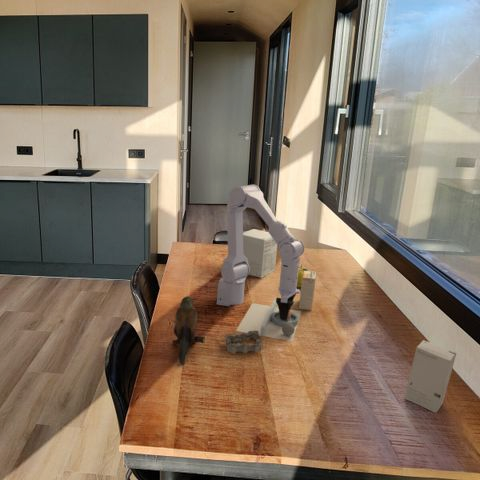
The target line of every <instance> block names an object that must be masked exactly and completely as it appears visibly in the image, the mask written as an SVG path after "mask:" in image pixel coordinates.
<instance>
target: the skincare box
mask: <svg viewBox="0 0 480 480" xmlns="http://www.w3.org/2000/svg"><path fill="white" fill-rule="evenodd" d="M456 358H457V353H456V352H455V351H452V350H450V349H447V348H445V347H443V346H441V345H438V344H435V343H432V342H430V341H426V340H422V341H421V342H420V343H419V344H418V345H417V346H416V348H415V353H414V357H413V359H412V364H411V369H410V371H409V372H410V373H409V376H408V380H407V381H408V382H407V384H406V389H405V393H404V397H403V398H404V400H407V401H410V402H411V403H414V404H415V405H417V406H419V407H420V406H421V407H422V408H425V409H427V410H429V411H431V412H432V413H435V414H437V412H438V411H439V410H440V408H441V407H442V405H443V403H444V400H445V398H446V394H447V393H446V392H447V390H448V385H449V382H450V378H451V375H452V372H453V368H454V364H455V361H456Z"/></svg>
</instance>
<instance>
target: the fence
mask: <svg viewBox="0 0 480 480" xmlns="http://www.w3.org/2000/svg"><path fill="white" fill-rule="evenodd" d="M276 299H277V298H274V299H273V301H272V303H271V305H270V306H271V308H270V310H269V312H268V314H267V316H266V318H265V320H264V322H263V324H262V326H261V336H260V337H265V336H264V334H265V332H266V330H267V328H268V325H269V323H270V321H271V316H272V314H273V312H275V310H276V307H278V305H277V303H276Z"/></svg>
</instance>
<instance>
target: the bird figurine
mask: <svg viewBox="0 0 480 480" xmlns="http://www.w3.org/2000/svg"><path fill="white" fill-rule="evenodd" d="M197 300H199V299H198V298H197V297H191V296H185V297H183V298H182V299H181V301H180V305H179V307H178V308H177V310H176V312H175V316H174V317H175V318H174V328H173V333H174V335H175V336H176V338H177V339H173V340H172V345H174V346H175V345H176V346H177V345H178V346H179V348H178V353H177V357H178V363H179V365H182V366H184V365H185V364H186V361H187V358H188V357H187V356H188V354H189V353H188V352H189V349H190V347H191V345H192V343H193V344H195V343H202V344H205V342H206V339H207V338H206V336H205V335H204V336H201V335H196V329H197V322H198V311H197V309H196V308H195V307H194V306H193V304H194V302H195V301H197Z"/></svg>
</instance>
